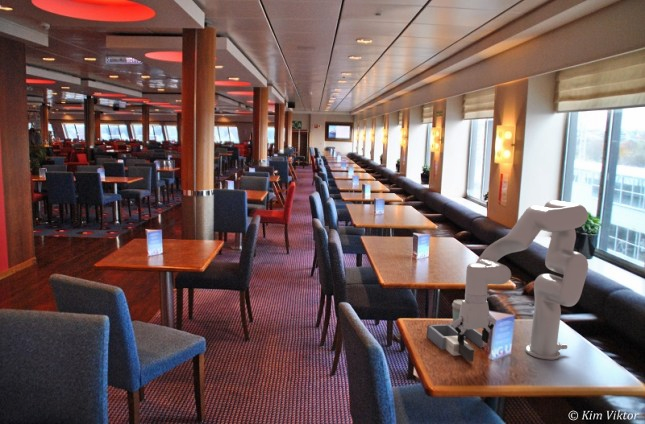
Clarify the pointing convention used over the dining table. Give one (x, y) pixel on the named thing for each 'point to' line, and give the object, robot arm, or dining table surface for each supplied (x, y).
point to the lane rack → (451, 334)
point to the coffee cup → (456, 308)
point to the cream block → (459, 348)
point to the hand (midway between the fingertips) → (472, 342)
